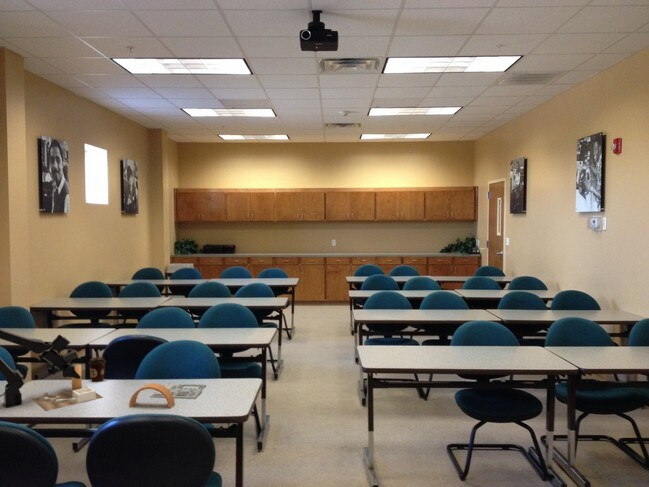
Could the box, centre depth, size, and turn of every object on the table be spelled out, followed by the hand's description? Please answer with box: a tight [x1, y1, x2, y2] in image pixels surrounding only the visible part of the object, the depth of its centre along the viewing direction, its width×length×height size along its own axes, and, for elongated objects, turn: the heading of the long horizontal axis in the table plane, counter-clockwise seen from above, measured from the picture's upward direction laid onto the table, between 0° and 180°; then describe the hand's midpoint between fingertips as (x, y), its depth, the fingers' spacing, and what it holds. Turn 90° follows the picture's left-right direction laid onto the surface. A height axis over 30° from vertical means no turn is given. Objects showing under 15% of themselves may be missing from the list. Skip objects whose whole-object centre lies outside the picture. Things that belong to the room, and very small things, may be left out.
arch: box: [128, 382, 175, 409], centre depth 246 cm, size 6×20×10 cm, turn 86°
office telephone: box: [149, 383, 207, 400], centre depth 266 cm, size 23×3×20 cm
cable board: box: [31, 386, 104, 412], centre depth 254 cm, size 26×22×4 cm
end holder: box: [72, 386, 97, 404], centre depth 253 cm, size 8×8×4 cm
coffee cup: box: [88, 357, 107, 383], centre depth 281 cm, size 9×8×13 cm
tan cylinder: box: [71, 364, 83, 391], centre depth 262 cm, size 4×4×12 cm
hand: (79, 376), depth 263 cm, fingers closed on tan cylinder, 4 cm apart
